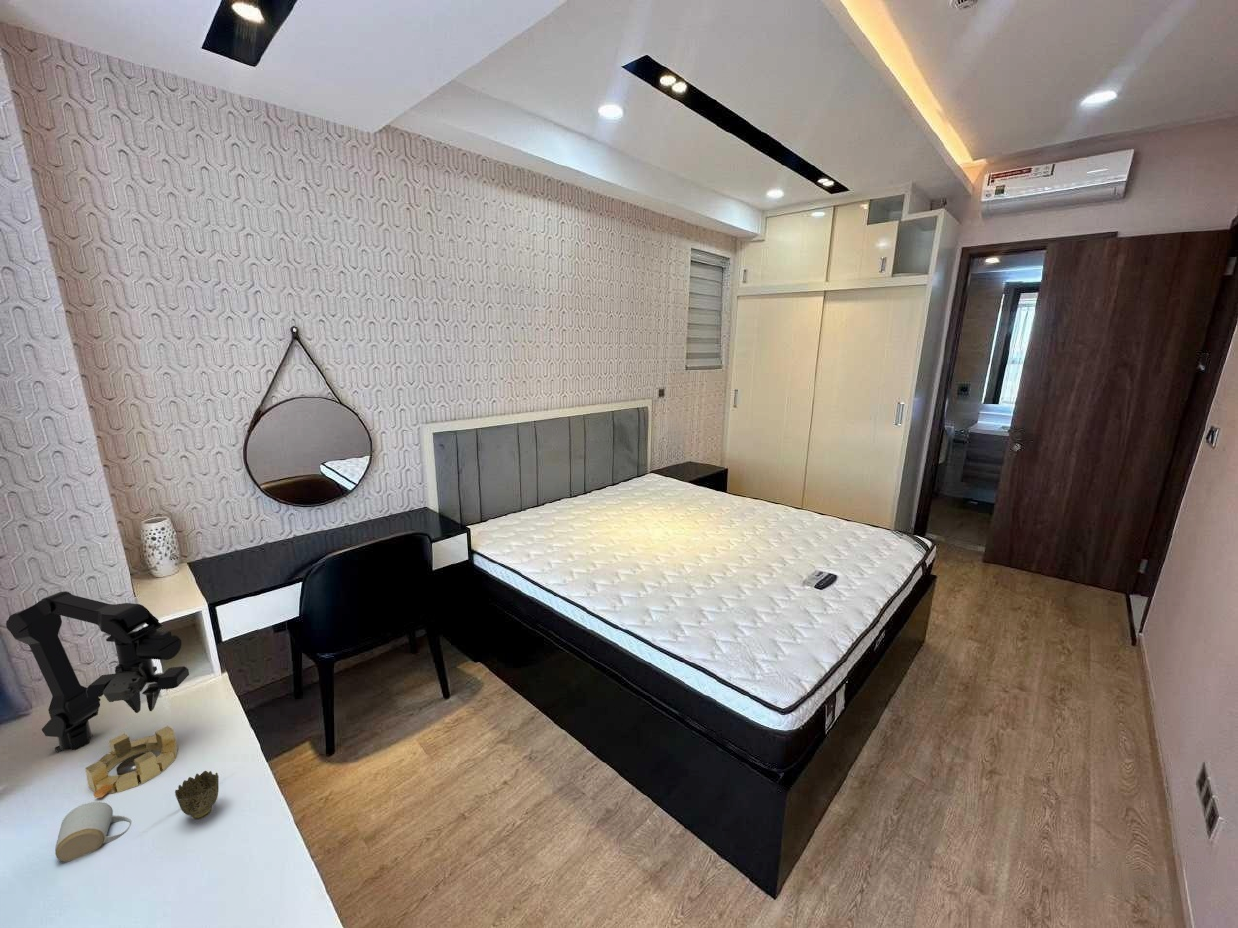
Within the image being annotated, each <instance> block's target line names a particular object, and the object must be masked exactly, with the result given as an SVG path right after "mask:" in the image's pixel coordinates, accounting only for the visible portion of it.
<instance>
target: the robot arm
mask: <svg viewBox="0 0 1238 928" xmlns="http://www.w3.org/2000/svg"><path fill="white" fill-rule="evenodd" d="M62 617H67V618H69V619H75V620H78V621H82V622H85V623H86V622H87V623H90V624H94V625H96V626H98V628H99V630H100V632H102V633H105V634H107V635H109V636H108V637H107V638H106V639H105V641H106V642H108V643H110V642H111V643H112V642H113V643H114V646H115V652H116V655H117V661H118V664H117V665H116V666H115V667H114V668H115V669H114V672H115V673H109V674H102V675H100V676H99V677H98V678H96V679H95V680H94V681H93V682H91V684H89V685H88V686H87V687H86V686H84V685H82V684H81V683H80V681H79V679H78V677H77V674H76V672H75V670H74V668H73V666H72V663H71V661H70V659H69V657H68V655H67V651H66V650H65V648H64V646H63V643H62V641H61V639H60V637H59V633H60V630H61V627H62V624H63V620H62V619H63V618H62ZM5 622H6V624H5V625H6V629H7V631H9V633H10V634H11V636H13V638H14V640H15V641H19V642H21V643H24V644H26V645H28V646H29V648H30V651H31V652H32V654H33V657H34V659H35V661H36V664H37V666H38V668H39V669H40V671H41V674H42V676H43V678H44V680H45V682H46V683H45V684H46V685H47V687H48V689H49V691H50V694H51V695H52V697H51V700H50V704H49V706H48V714H49V717H50V719H49V720H48V721H47V723H46V724H45V725H44V726H43V727H42V728H41V731H42V732H43V734H44V736H45V737H51V738H52V737H53V738H57V740H58V746H55V747H54V750H55V752H57V753H58V754H60V753H61V752H63V751H69V750H71V751H73V750H74V751H76V750H78V749H81V748H83V747H85V746H87V745H89V744H90V742H91V739H92V737H94V734H92V731H91V726H90V723H89V720H91V719H92V718H95V717H97V716H98V715H99V709H100V707H101V697H102V696H104V697H105V699H106V700H107V702H108V703H114V702H120V701H124V702H125V703H126V704H127V705H128V706H129V707H130V708H131V710H133V712H134V713H135V714H138V713H139V712H140V711H141V706H142V705H141V703H142V702H141V694H140V693H141V692H142V691H143V692H142V695H144V696H145V697H146V703H147V704H146V705H147V708H148V711H149V712H153V710H154V709H155V707H156V705H157V701H158V698H159V696H160V693H161V690H169V689H172V690H173V689H176V688H178V687H180V685H181V684H182V683H183V682H184V681H185V680H186V679H187V677H189V676H190V672H189V668H188V667H187V666H185V665H184V666H176V667H175V666H173V667H169V668H168V669H166V670H165V671H164V672H158V673H156V672H157V670H158V668H157V666H153V661H152V660H160V661H161V660H162V661H170V660H171V659H173V658H175V657H176V656H177V655H178V654H179V652H180V651H181V648H182V640H181V638H180V636H178V635H173V634H172V631H170V630H163V631H161V630H159V629H161V628H162V627H163V624H162V623H160V621H159V618H157V617H156V616H154V615H153V614H152V613H151V612H150V611H149V609H148V608H147V607H146V606H144V605H142V604H140V603H130V602H124V603H115V604H112V603H107V602H103V601H99V600H95V599H92V598H87V597H83V596H79V595H74V594H72V593H71V592H69V591H65V590H63V591H59V592H56V593H54V594H51V595H49V596H46V597H44V598H42V599H41V600H39V601H38V602H36V603H35V604H33V605H31V606H29V607H27V608H25V609H23V610H19V611H17V612H15V613H12V614H10V615H9V617H8V619H7V620H6V621H5ZM144 625H146V626H144ZM142 626H144V627H142ZM140 627H142V628H140ZM139 628H140V629H139ZM137 629H138V630H137ZM145 687H147V688H146V689H145V690H143V689H144V688H145Z"/></svg>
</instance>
